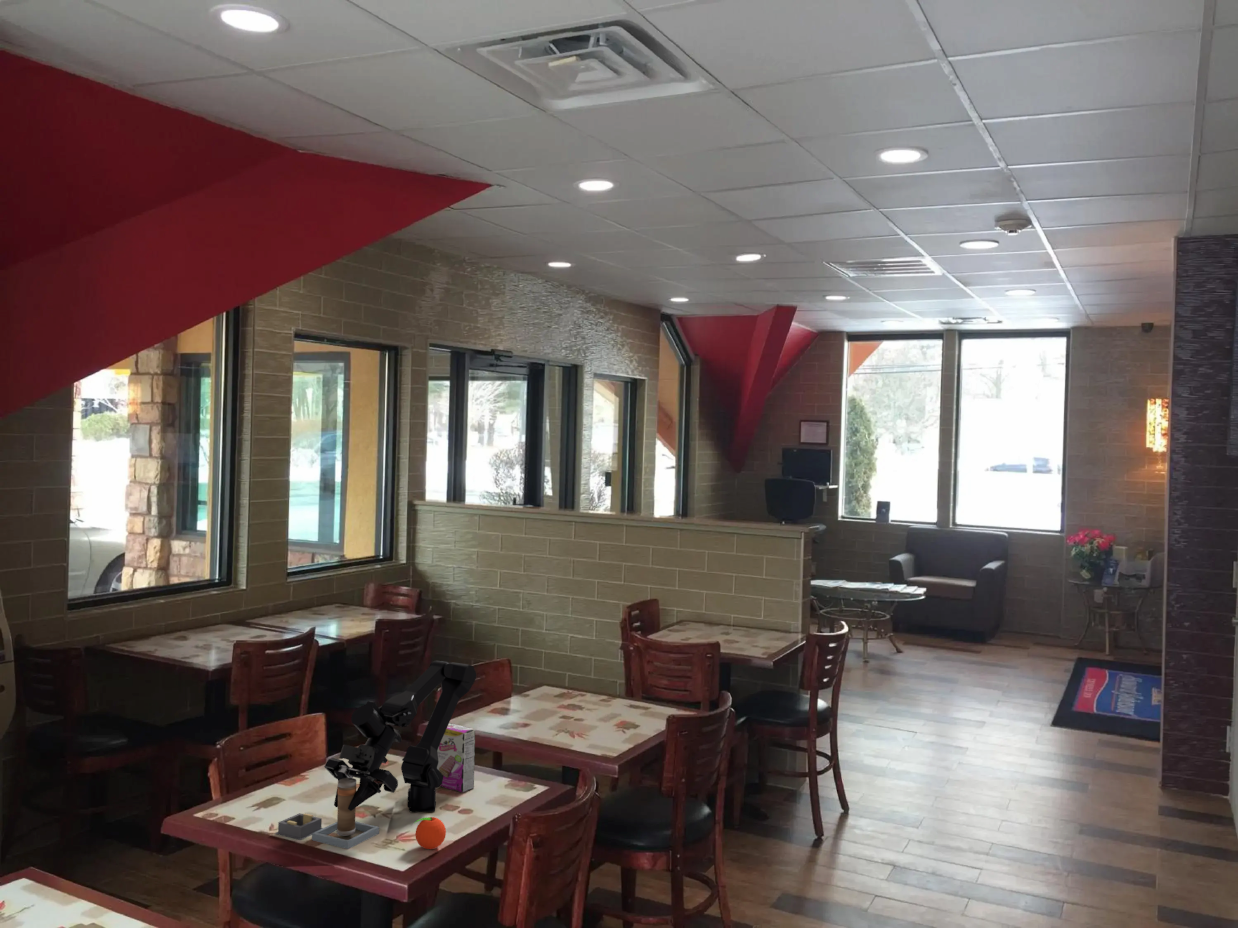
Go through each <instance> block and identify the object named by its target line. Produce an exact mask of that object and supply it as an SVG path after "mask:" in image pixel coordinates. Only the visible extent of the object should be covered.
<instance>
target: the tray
mask: <svg viewBox="0 0 1238 928" xmlns="http://www.w3.org/2000/svg"><path fill="white" fill-rule="evenodd" d="M321 828H322V829H320V830H318V831H316V832H314V833H312V835H311V840H312V841H314V842H318V843H322V844H327V845H330V846H333V847H338V848H342V849H343V848H344V849H347V850H349V849H351V848H353V847H355V846H357V845H359V844H362V843H363V842H365V841H367V840H369V839H371V838H373V837H375V836H377V835H379V834H380V826H376V825H373V824H372V825H371V824H367V823H365V822H360V821H356V820H355V831H361V832H362V833H360V834H358V835H356V836H354V837H352V838H350V839H344V838H339V837H336V836H332V835H329V834H331V833H334V832H337V821H335V822H334V823H332V824H329V825H327V826H325V827H321Z"/></svg>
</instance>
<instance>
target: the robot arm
mask: <svg viewBox="0 0 1238 928" xmlns="http://www.w3.org/2000/svg"><path fill="white" fill-rule="evenodd" d="M476 678H477V673H476V670H475V667H474V666H473V665H471V664H467V663H461V662H460V663H459V662H452V661H451V662H448V661H442V660H441V661H440V660H434V661H431V663H430V664H429V667H428V668H427V669H426V670H425V671H423V673H421V675H420V676H419V677H418V678H417V679H415V681H414V682H412V684H411V685H410V686H409V687H407V688H406V689H405V690H404V691H403V692H401V693H399V694H396V695H393V696H391V697H390V698H389V699H387V700H386V701H384V703H383V704H381V706H379V707H378V705H377V703H376V702H375V701H370V700H368V701H367V702H365V703H366V704H363V705H361V706H359V707H358V708H356V710H354V711H353V712H352V714H351V717H350V720H351V721H350V722H351V723H352V724H353V726H355V728H356V729H357V730H358V731H359V732H360V733H361V734H362V736H363V737H365V738H366V739H367V741H366V742H365V744H362V743H361V744H359V745H358V747H356V746H352V745H348V744H343V745H342V746H341V747H342V748H341V751H340V754H339V757H338V758H339V759H338V758H334V757H331V758H328V760H327V762H326V763H325V765H323V767H324V769H326V771H327V772H328V773H330V775H331V776H332V777H333V778H335V779H336V780H337V781H338V780H340V779H343V778H355V779H359V785H358V787H357V788H356V793H355V795H354V797H353V798H352V800H351V802H350V804H349V807H348V809H349V810H350V811H352V810H353V809H355V808H357V807H358V806H361V804H363V803H364V802H366V801H367V800H369V799H370V798H372V797H373V796H374V795H377V794H380V793H381V792H382V790H381V788H382V786H383V790H384V792H388V793H391V794H392V793H393V794H394V793H396V790H397V788H398V786H399V780H398V779H397V778H396V777H395V776H394V774H392V772H391V771H390V770H387V769H383V768H380V767H381V766H382V764H385V765H386V764H387V762H388V759H387V755H388V753H389V752H390V750H391V748H392V746H393V744H394V742H396V743H401V742H402V736H401V731H400V730H398V729H396V728H394V727H393V726H395V727H400V728H406V727H408V726H410V724H411V723H412V721H413V720H414V718H415V717H416V716H417V714H418V707H419V706H420V705H421V703H423V702H424V701H425V700H426V699H427V697H429V695H430V694H432V692H434V690H435V689H436V688H437V687H439V685H441V687H440V688H441V693H440V696H439V698H438V700H437V702H436V704H435V706H434V709H433V712H432V713H431V716H430V718H429V720H428V722H427V725H426V727H425V728H424V731H423V734H422V736H421V739H420V741H419V742H417V744H416V745H409V746H408V747H407V750H406V752H405V754H404V757H402V759H401V761H402V763H401V765H400V766H401V767H400V769H401V774H402V778H403V781H404V784H408V785H410V786H409V787H408V790H407V808H408V812H409V813H434V812H436V807H437V801H436V800H437V797H436V796H437V795H436V793H437V791H436V790H437V788H439V787H440V786H439V785H441V784H442V781H443V777H444V776H443V775H442V773H441V772H440V771H439V770H438V769H437V766H438V762H439V761H438V752H437V750H438V747H439V745H440V743H441V740H442V738H443V736H444V733H445V731H446V729H447V726H448V724H449V723H451V719H452V717H453V715H454V713H455V711H456V707H457V705H458V703H459V701H460V699H461V698H462V697H464V696H465V695H466V694H468V692H470V690H471V689H472V688H473V685H474V683H475V682H476ZM343 759H344V760H348V761H347V763H348V764H349V765H348V764H347V763H346V762H345V761H344V760H343ZM351 766H352V767H351ZM333 806H334V807H335V808H338V786H337V788H336V793H335V798H334V802H333Z"/></svg>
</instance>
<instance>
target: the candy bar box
mask: <svg viewBox="0 0 1238 928" xmlns="http://www.w3.org/2000/svg"><path fill="white" fill-rule="evenodd" d="M475 749H476V729H475V728H471V727H467V726H464V725H463V726H462V725H460V724H455V723H452V722H449V724H448V726H447V729H446V731H445V733H444V736H443V738H442V740H441V743H440V745H439V747H438V750H437V752H438V761H439V762H438V766H437V769H438V770H439V771H440V772H441V773H442V775H443V776H444V777H443V781H442V784H441V785H439V787H441V788H445V789H448V790H453V791H455V792H459V793H467V792H468V791H470V790H472V789H474V787H475V758H476V757H475V751H476V750H475Z"/></svg>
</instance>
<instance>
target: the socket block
mask: <svg viewBox="0 0 1238 928" xmlns="http://www.w3.org/2000/svg"><path fill="white" fill-rule="evenodd" d="M322 822H323V821H322V818H321V817H316V816H314V815H313V814H308V813H296V814H294V815H292V816H290V817H287V818H285V819H283V820H280V821H279V822H277V823H278V824H277V825H278V827H277V829H278V830H277V832H275V833H274V835H279V836H282V837H287V838H290V839H293V840H294V839H295V840H299V841H302V840H304V839H307V838H308V837H312V833H314V832H316V831H318V830H320V829H322V828H323V827H322Z"/></svg>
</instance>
